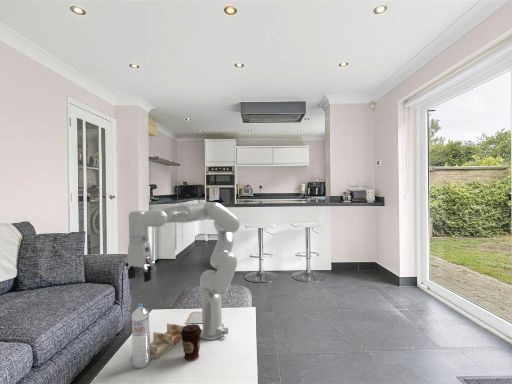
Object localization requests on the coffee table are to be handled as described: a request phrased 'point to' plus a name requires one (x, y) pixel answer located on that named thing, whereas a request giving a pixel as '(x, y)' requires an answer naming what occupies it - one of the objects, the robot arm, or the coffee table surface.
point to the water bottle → (140, 337)
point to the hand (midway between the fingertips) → (139, 279)
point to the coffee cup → (191, 341)
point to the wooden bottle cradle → (165, 340)
